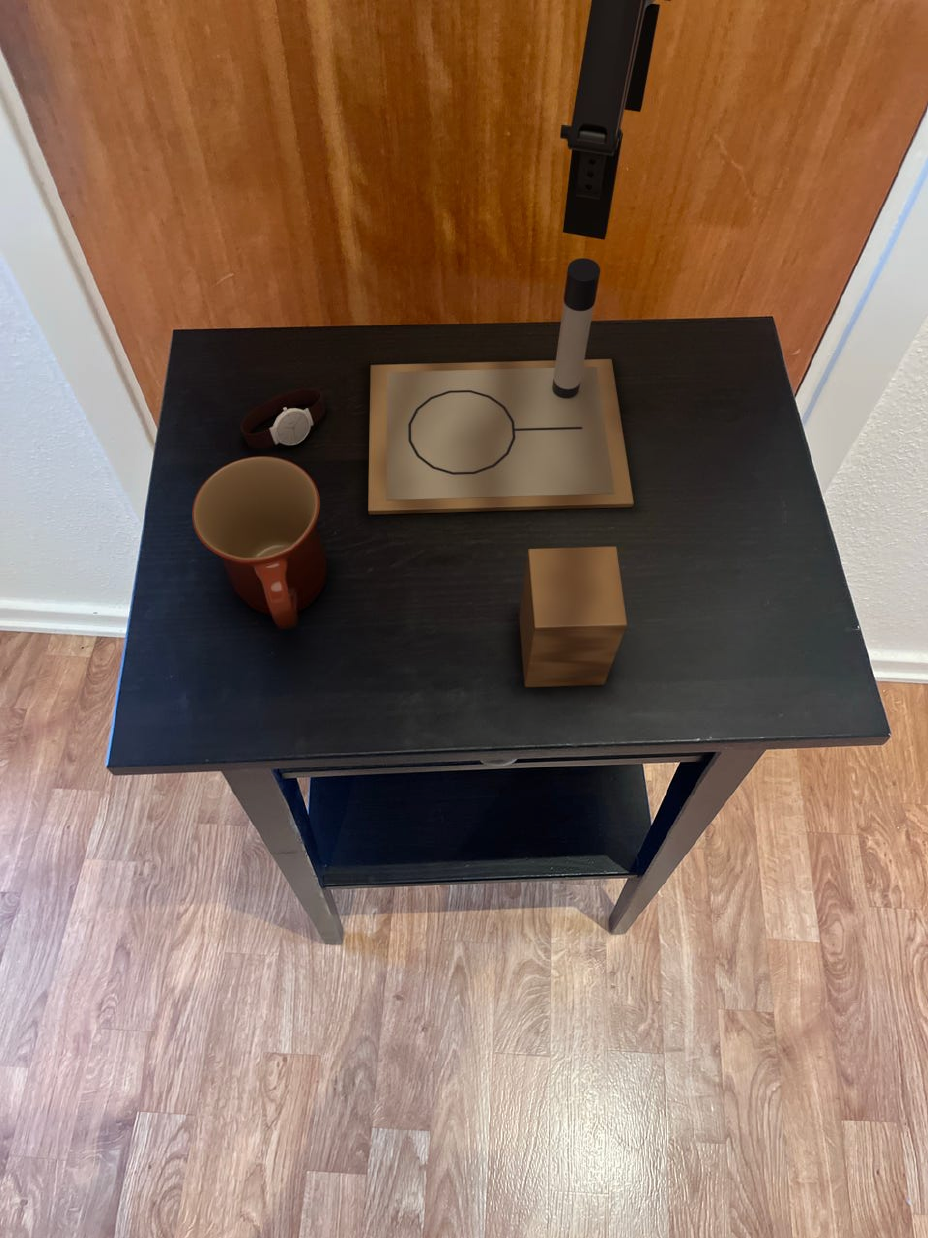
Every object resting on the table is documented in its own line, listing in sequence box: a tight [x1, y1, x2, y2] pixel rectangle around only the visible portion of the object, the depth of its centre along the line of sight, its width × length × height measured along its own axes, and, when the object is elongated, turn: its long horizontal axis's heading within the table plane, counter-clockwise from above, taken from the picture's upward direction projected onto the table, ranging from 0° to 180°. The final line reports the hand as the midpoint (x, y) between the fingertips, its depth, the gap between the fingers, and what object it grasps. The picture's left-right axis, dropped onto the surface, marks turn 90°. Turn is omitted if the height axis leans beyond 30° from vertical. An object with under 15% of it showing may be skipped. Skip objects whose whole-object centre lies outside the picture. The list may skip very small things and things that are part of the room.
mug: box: [191, 455, 327, 630], centre depth 63 cm, size 12×9×10 cm
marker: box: [552, 257, 601, 399], centre depth 71 cm, size 2×2×13 cm
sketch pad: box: [367, 358, 634, 516], centre depth 75 cm, size 22×16×1 cm
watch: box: [239, 387, 326, 449], centre depth 74 cm, size 8×5×4 cm, turn 126°
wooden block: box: [518, 546, 628, 688], centre depth 61 cm, size 6×6×10 cm
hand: (604, 166), depth 58 cm, fingers open, 13 cm apart
